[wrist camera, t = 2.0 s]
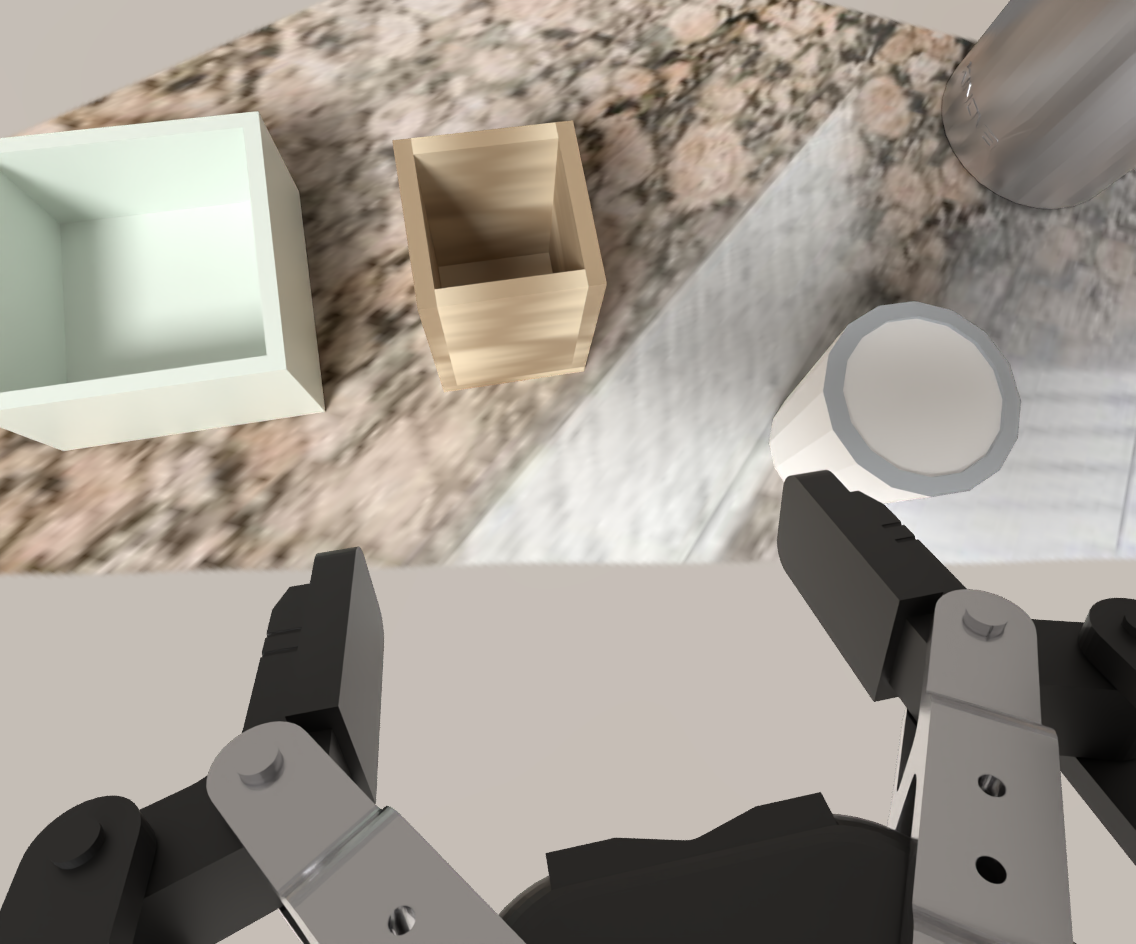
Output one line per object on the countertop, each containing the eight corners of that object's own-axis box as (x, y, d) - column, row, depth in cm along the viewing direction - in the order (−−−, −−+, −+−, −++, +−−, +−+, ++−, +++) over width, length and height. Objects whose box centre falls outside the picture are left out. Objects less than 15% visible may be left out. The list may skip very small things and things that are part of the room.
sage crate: (299, 191, 31) (258, 111, 26) (325, 411, 29) (286, 369, 24) (53, 220, 30) (-37, 142, 25) (63, 451, 28) (-34, 414, 23)
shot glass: (786, 345, 31) (862, 267, 24) (929, 409, 31) (1046, 349, 24) (731, 484, 30) (795, 442, 23) (881, 552, 29) (992, 530, 23)
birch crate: (559, 245, 31) (572, 120, 24) (583, 371, 30) (606, 283, 22) (424, 262, 31) (392, 140, 23) (444, 392, 30) (417, 309, 22)
